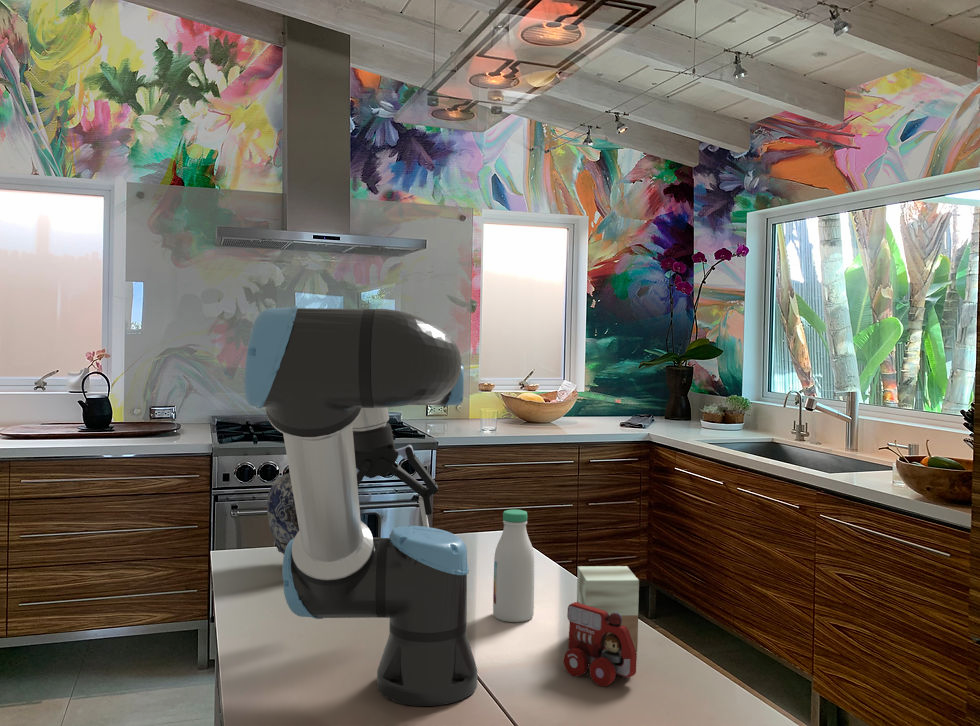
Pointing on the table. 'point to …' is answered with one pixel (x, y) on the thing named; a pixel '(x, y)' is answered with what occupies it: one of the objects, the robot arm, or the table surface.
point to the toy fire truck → (598, 645)
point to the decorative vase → (282, 512)
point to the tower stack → (611, 593)
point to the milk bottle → (514, 570)
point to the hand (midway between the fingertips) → (390, 538)
